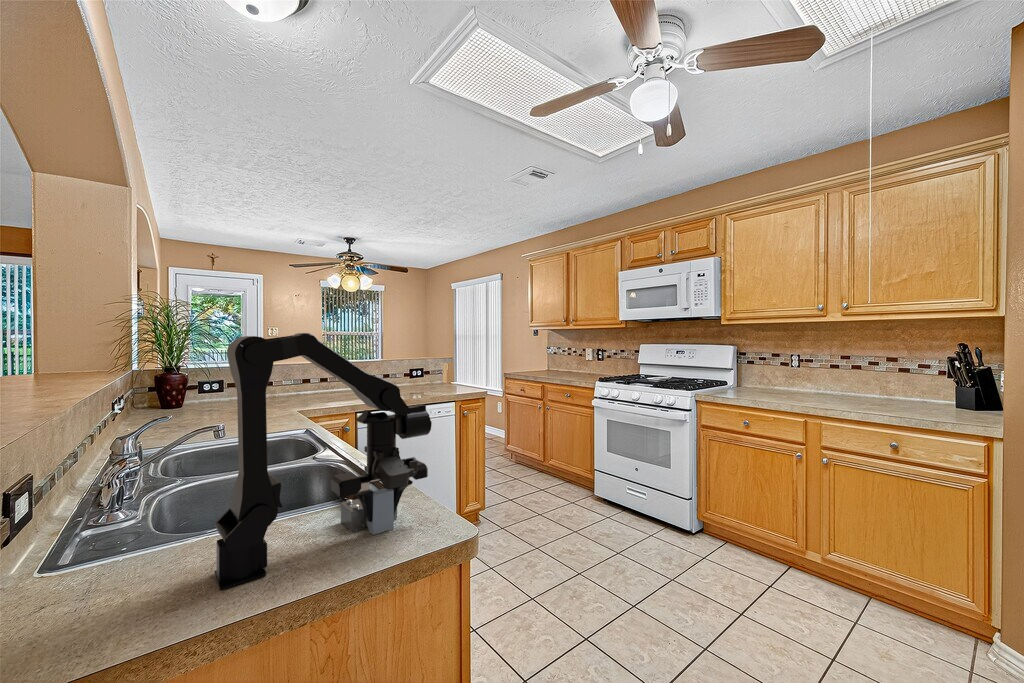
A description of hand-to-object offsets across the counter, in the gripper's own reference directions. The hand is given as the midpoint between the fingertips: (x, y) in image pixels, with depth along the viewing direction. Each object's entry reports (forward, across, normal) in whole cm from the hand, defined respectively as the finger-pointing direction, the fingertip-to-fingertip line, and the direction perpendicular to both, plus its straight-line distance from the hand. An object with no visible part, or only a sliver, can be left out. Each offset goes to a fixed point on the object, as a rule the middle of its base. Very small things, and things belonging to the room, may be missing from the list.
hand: (381, 518), depth 89 cm
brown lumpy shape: (+3, +2, +20) cm, 20 cm away
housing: (+2, 0, +6) cm, 7 cm away
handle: (+2, 0, +3) cm, 4 cm away
